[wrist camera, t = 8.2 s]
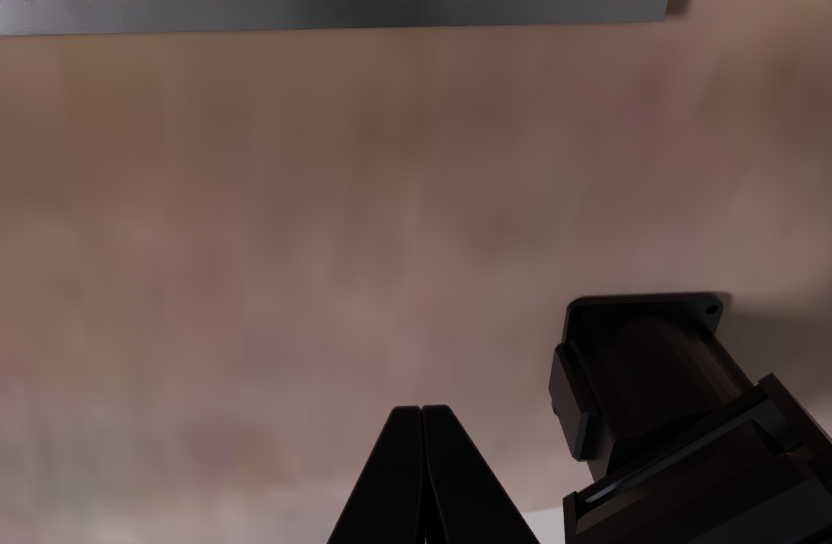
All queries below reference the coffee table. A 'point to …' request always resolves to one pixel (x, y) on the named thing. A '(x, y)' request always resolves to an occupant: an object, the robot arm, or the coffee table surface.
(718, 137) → the coffee table surface
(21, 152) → the coffee table surface
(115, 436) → the coffee table surface
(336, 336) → the coffee table surface
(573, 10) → the pipe stand
